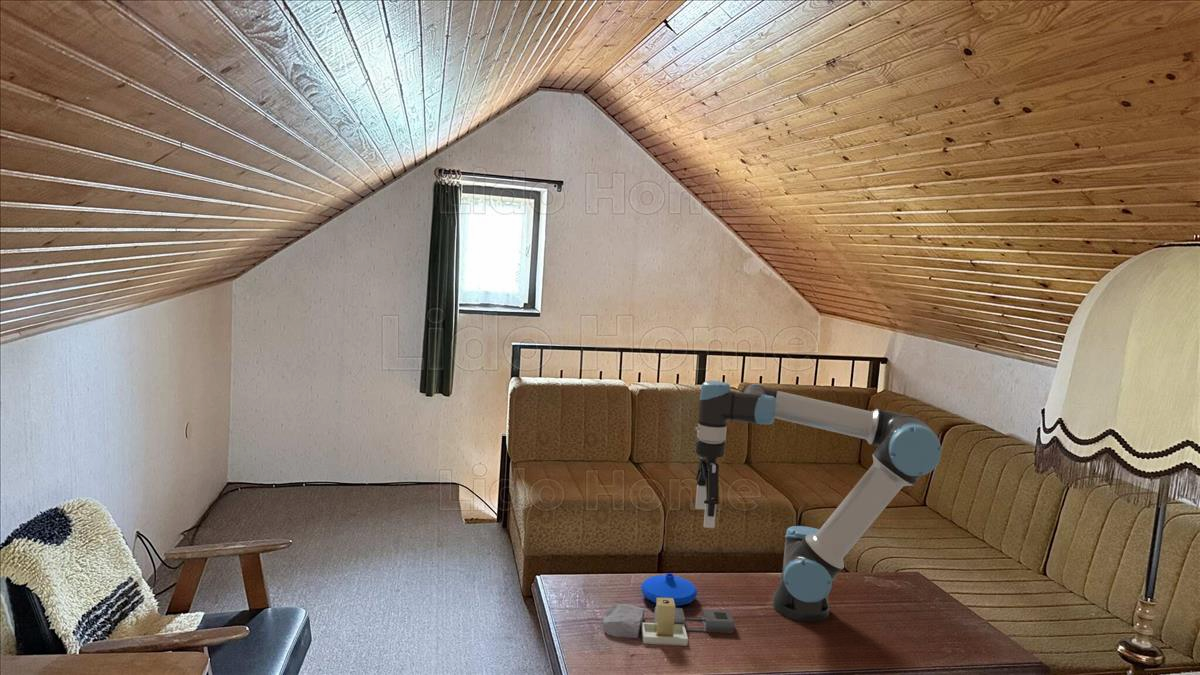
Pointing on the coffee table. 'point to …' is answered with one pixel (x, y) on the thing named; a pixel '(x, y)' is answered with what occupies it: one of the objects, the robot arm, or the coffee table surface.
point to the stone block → (623, 621)
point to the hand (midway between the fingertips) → (704, 517)
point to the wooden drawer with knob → (664, 617)
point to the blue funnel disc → (669, 589)
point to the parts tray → (677, 638)
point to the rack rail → (708, 620)
